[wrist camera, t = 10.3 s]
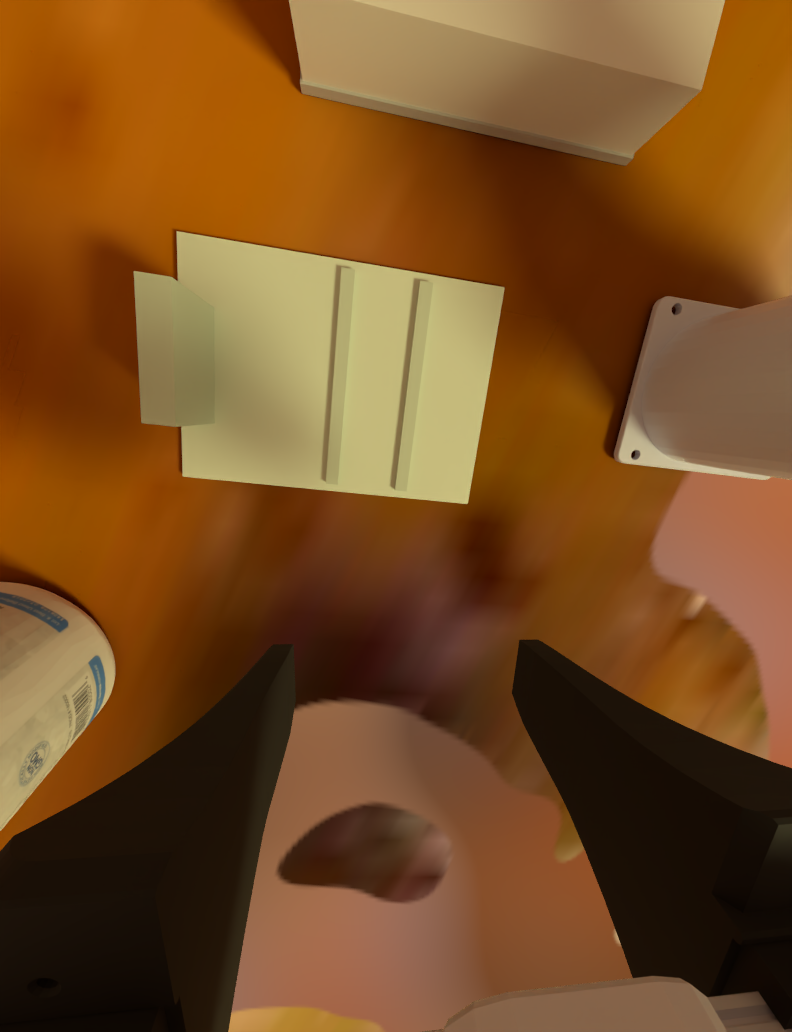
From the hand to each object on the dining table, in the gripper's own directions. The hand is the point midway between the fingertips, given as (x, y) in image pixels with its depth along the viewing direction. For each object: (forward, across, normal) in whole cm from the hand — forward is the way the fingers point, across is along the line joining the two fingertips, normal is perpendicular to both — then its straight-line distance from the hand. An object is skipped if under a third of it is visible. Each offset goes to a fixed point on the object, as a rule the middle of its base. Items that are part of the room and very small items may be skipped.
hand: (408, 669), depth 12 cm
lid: (+10, +3, -9) cm, 14 cm away
